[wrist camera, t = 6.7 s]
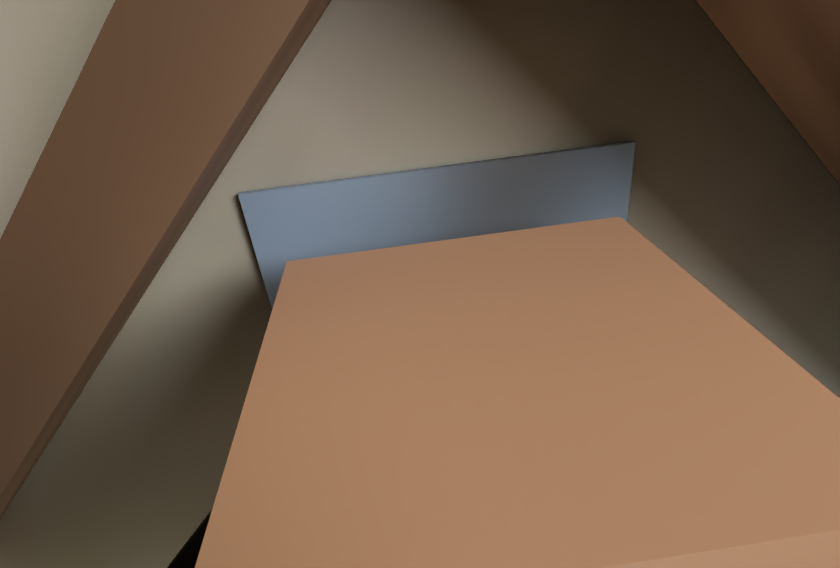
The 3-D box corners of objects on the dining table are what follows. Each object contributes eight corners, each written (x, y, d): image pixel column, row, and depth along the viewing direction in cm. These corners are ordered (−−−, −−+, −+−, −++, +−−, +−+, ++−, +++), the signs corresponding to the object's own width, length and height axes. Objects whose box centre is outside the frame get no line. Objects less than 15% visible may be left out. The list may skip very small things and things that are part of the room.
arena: (1035, 334, 11) (1237, 433, 9) (484, 696, 17) (505, 819, 15) (490, -502, 5) (637, -1089, 2) (-84, 536, 11) (-224, 704, 8)
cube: (619, 216, 8) (973, 507, 3) (595, 450, 10) (774, 793, 6) (286, 260, 7) (173, 636, 3) (346, 487, 10) (331, 872, 5)
